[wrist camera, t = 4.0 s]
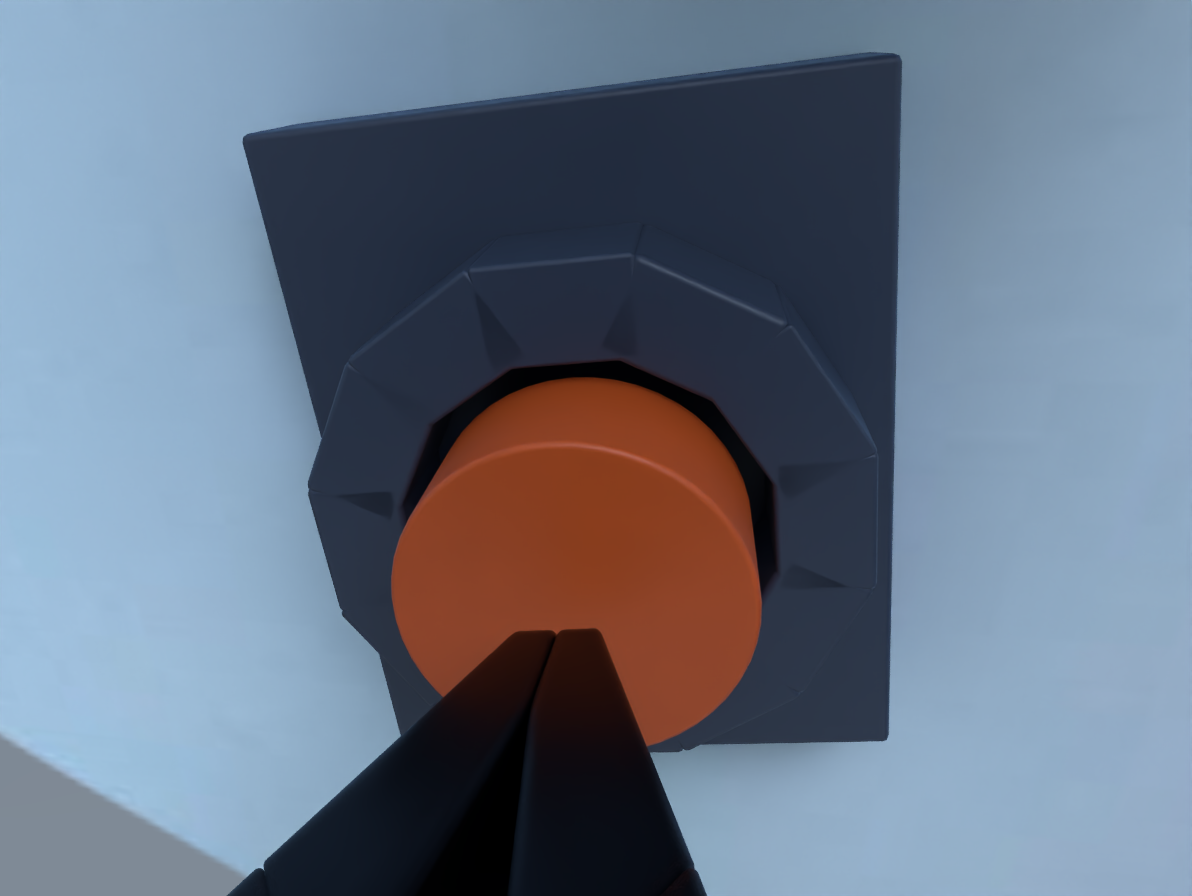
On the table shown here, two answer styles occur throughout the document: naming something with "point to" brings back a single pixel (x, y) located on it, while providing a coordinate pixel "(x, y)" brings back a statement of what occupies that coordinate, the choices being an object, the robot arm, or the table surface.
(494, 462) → the button
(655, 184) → the control box
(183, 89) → the table surface
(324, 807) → the robot arm
